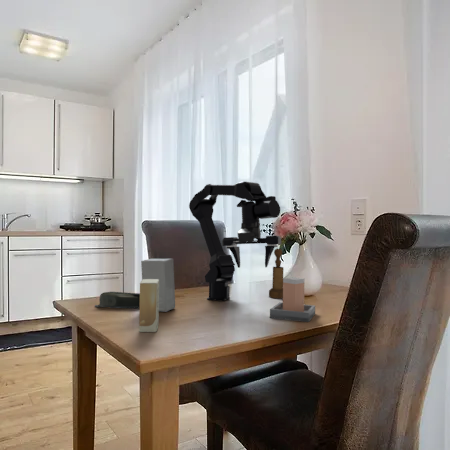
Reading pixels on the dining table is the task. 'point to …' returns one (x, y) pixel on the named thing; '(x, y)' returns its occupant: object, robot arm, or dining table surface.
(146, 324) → the skincare box
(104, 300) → the black stapler
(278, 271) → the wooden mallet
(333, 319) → the dining table surface
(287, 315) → the tray
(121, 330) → the dining table surface
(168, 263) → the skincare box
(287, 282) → the grey-topped peach block
